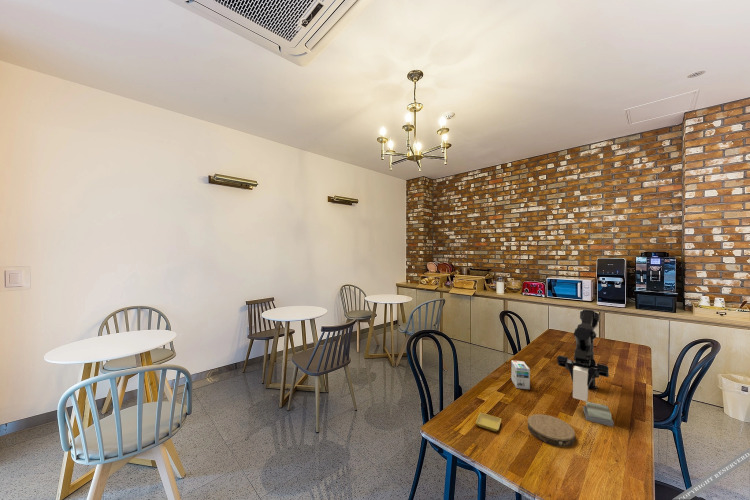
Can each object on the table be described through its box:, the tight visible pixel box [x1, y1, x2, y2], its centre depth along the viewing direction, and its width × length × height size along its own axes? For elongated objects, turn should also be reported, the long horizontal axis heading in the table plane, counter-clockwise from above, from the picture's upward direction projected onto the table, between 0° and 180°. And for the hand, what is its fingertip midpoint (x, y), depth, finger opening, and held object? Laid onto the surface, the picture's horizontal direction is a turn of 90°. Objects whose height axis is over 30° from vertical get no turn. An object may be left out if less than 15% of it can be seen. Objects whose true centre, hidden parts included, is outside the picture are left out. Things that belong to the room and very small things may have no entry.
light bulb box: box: [510, 360, 531, 390], centre depth 154 cm, size 11×7×11 cm, turn 168°
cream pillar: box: [572, 366, 589, 403], centre depth 127 cm, size 5×5×12 cm
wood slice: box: [527, 413, 576, 448], centre depth 113 cm, size 16×16×3 cm
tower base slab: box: [583, 405, 614, 428], centre depth 123 cm, size 9×9×2 cm
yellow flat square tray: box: [475, 412, 502, 432], centre depth 118 cm, size 9×9×2 cm
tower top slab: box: [585, 401, 612, 420], centre depth 123 cm, size 8×8×2 cm
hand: (580, 383), depth 126 cm, fingers closed on cream pillar, 5 cm apart
